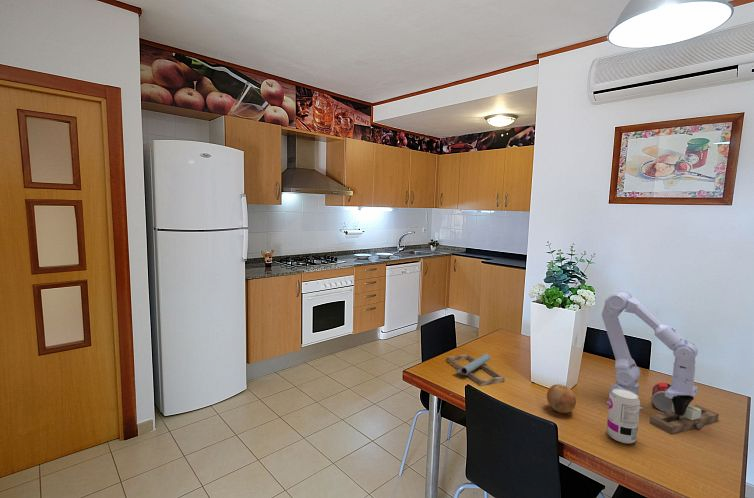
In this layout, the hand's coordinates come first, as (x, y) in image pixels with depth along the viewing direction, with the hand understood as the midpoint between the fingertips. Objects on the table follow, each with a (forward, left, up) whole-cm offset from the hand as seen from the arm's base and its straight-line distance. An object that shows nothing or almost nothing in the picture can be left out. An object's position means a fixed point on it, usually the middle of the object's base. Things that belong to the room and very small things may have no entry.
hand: (679, 414), depth 129 cm
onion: (-34, +20, -4) cm, 39 cm away
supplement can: (-28, +1, -4) cm, 28 cm away
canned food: (+13, +13, 0) cm, 19 cm away
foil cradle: (-44, +60, -4) cm, 74 cm away
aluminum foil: (-44, +61, -2) cm, 75 cm away
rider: (+4, 0, -4) cm, 5 cm away
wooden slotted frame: (+3, 0, -4) cm, 5 cm away
